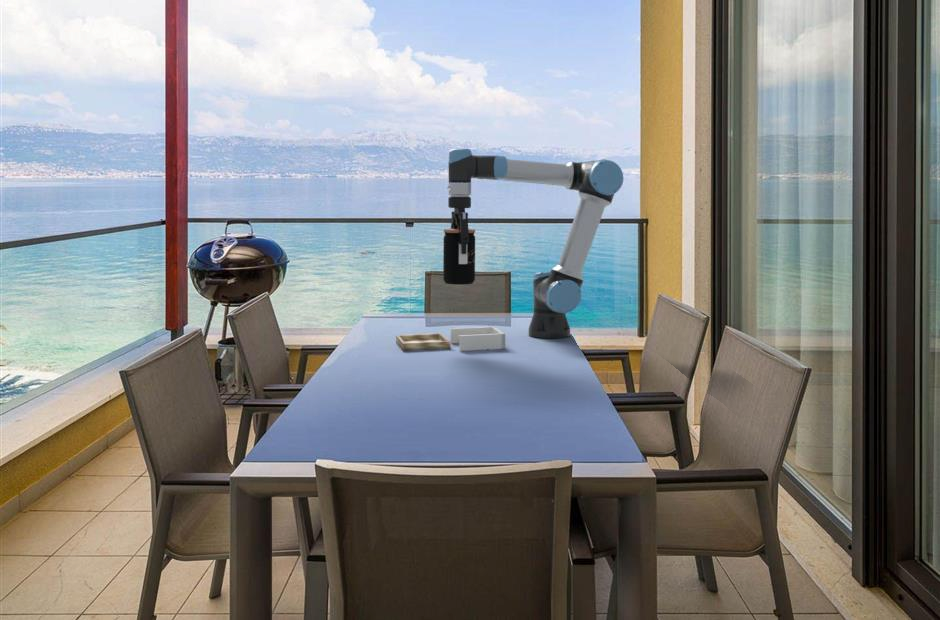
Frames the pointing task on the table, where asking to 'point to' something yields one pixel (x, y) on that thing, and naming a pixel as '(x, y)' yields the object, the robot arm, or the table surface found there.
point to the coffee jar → (451, 266)
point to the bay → (478, 338)
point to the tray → (422, 342)
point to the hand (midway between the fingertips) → (459, 262)
